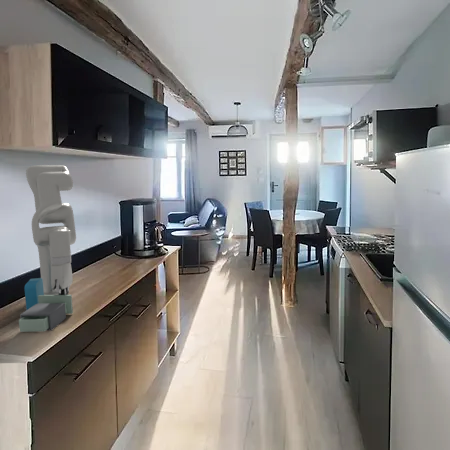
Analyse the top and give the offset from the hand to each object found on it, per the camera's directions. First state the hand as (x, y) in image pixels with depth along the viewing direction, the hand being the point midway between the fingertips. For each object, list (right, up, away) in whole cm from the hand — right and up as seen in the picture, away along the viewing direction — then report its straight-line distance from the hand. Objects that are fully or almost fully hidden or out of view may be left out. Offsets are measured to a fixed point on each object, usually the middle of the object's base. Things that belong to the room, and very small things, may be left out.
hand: (64, 304), depth 158 cm
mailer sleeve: (-2, -5, -12) cm, 14 cm away
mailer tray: (-2, -4, -12) cm, 13 cm away
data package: (-14, -3, +5) cm, 15 cm away
